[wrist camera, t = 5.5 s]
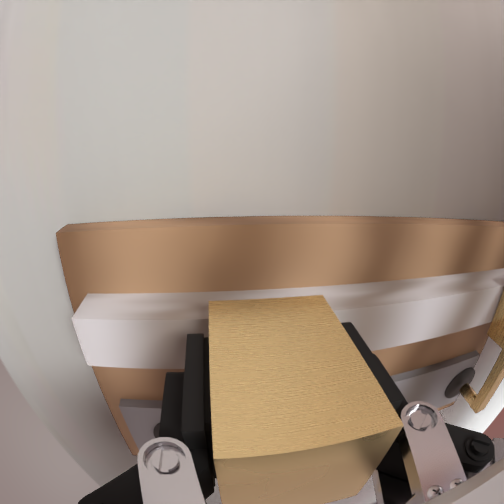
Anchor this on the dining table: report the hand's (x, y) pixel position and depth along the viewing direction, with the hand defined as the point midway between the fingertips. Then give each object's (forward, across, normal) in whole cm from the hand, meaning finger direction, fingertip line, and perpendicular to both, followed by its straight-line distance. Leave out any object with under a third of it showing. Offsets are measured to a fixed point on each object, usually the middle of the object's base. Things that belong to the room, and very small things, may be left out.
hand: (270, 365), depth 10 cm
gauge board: (+4, -5, +4) cm, 8 cm away
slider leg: (+2, 0, +3) cm, 4 cm away
